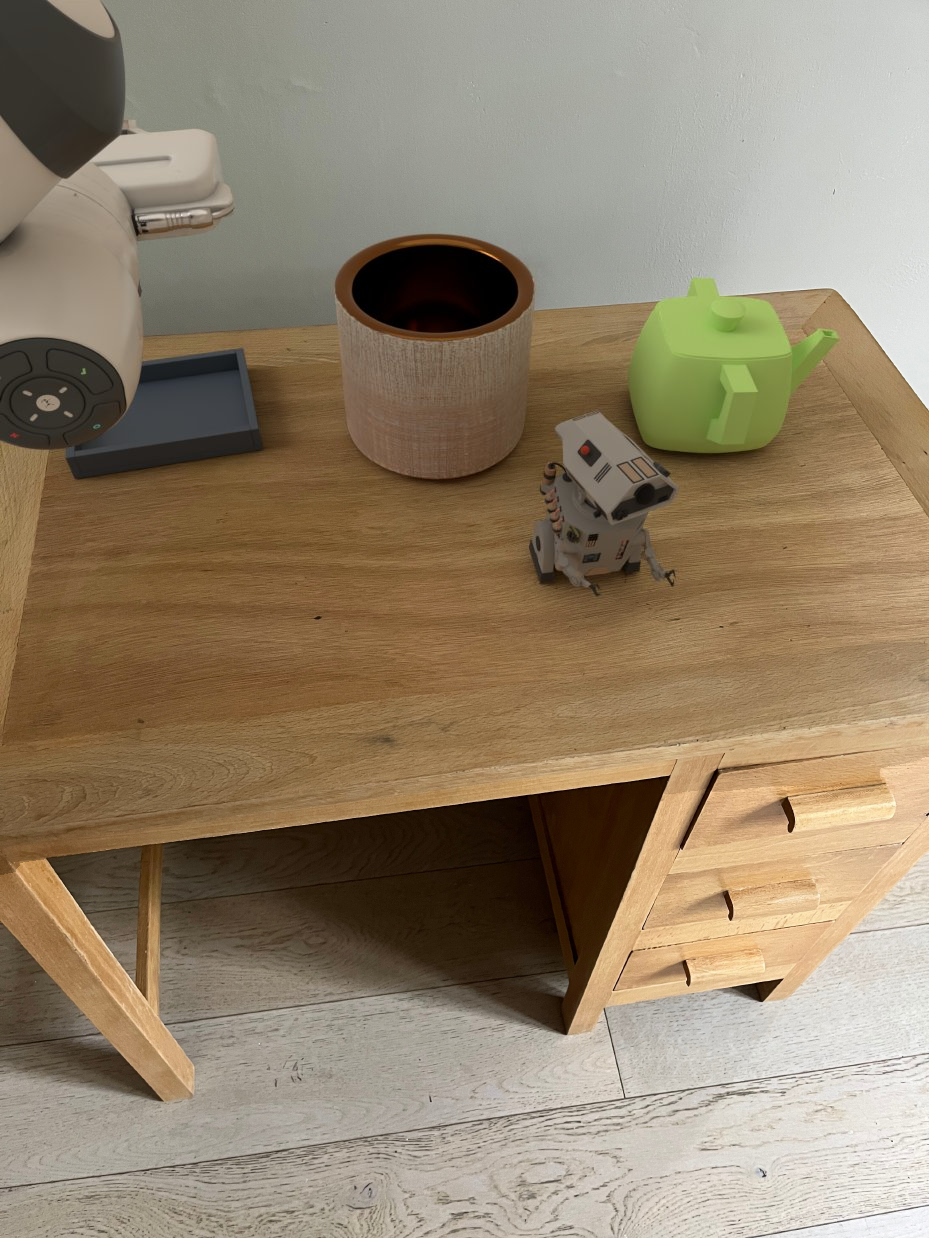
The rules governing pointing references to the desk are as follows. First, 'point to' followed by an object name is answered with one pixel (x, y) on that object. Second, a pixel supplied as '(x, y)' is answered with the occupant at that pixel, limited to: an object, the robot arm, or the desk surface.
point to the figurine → (598, 504)
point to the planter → (435, 352)
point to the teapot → (717, 372)
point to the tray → (177, 416)
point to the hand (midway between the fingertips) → (61, 137)
